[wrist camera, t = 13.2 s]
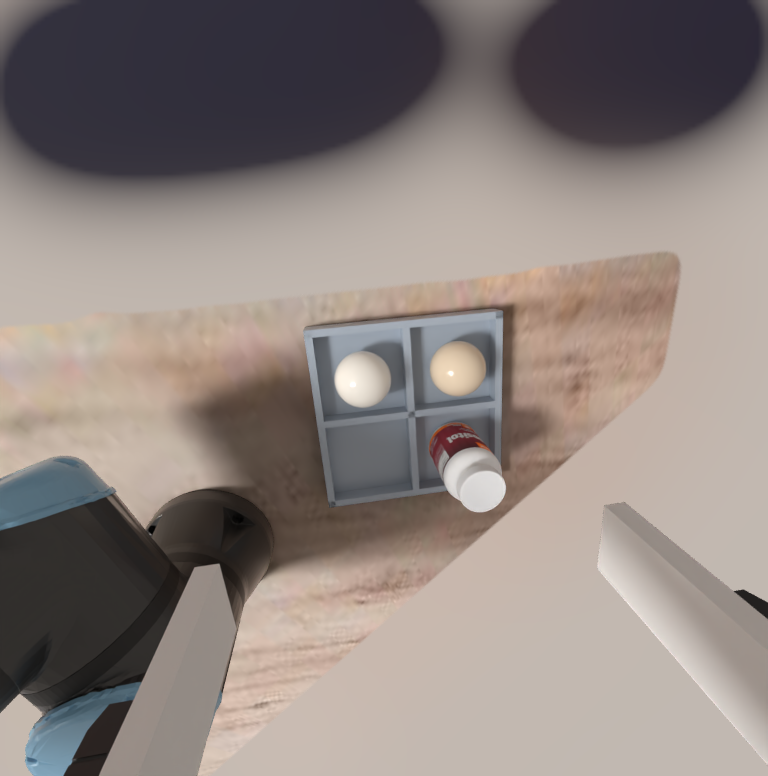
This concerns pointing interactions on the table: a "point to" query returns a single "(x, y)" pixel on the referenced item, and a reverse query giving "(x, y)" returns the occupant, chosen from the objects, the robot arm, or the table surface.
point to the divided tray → (399, 402)
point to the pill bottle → (467, 466)
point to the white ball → (362, 379)
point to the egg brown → (457, 368)
